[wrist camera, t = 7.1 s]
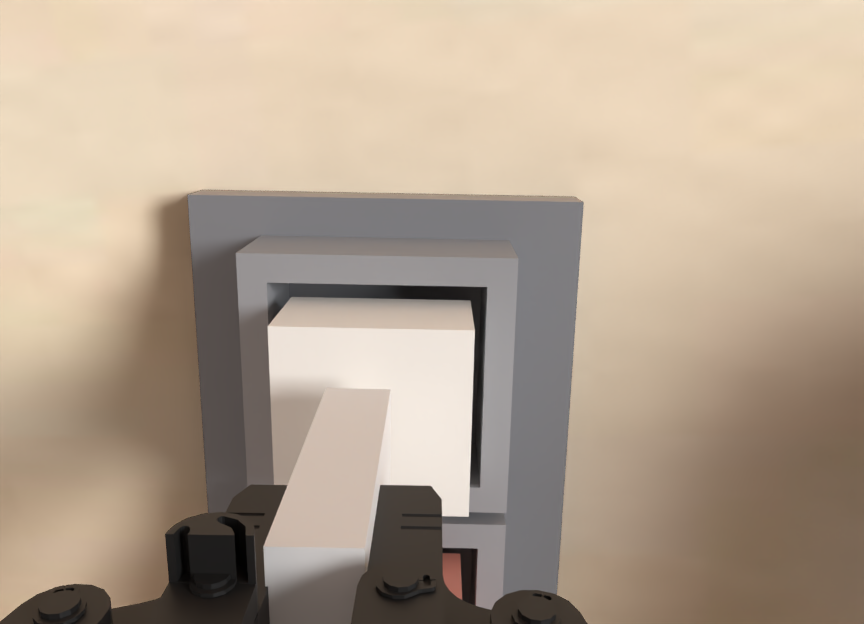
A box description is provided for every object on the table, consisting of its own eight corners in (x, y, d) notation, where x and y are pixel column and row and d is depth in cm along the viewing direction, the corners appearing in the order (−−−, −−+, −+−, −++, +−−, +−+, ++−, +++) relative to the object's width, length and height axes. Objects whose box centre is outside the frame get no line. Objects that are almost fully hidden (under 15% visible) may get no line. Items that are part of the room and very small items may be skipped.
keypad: (202, 189, 24) (150, 206, 20) (575, 196, 24) (604, 215, 20) (240, 827, 31) (208, 943, 27) (533, 834, 31) (548, 952, 27)
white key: (291, 296, 21) (267, 326, 18) (469, 300, 21) (474, 330, 18) (296, 460, 22) (275, 512, 20) (465, 464, 22) (468, 516, 20)
